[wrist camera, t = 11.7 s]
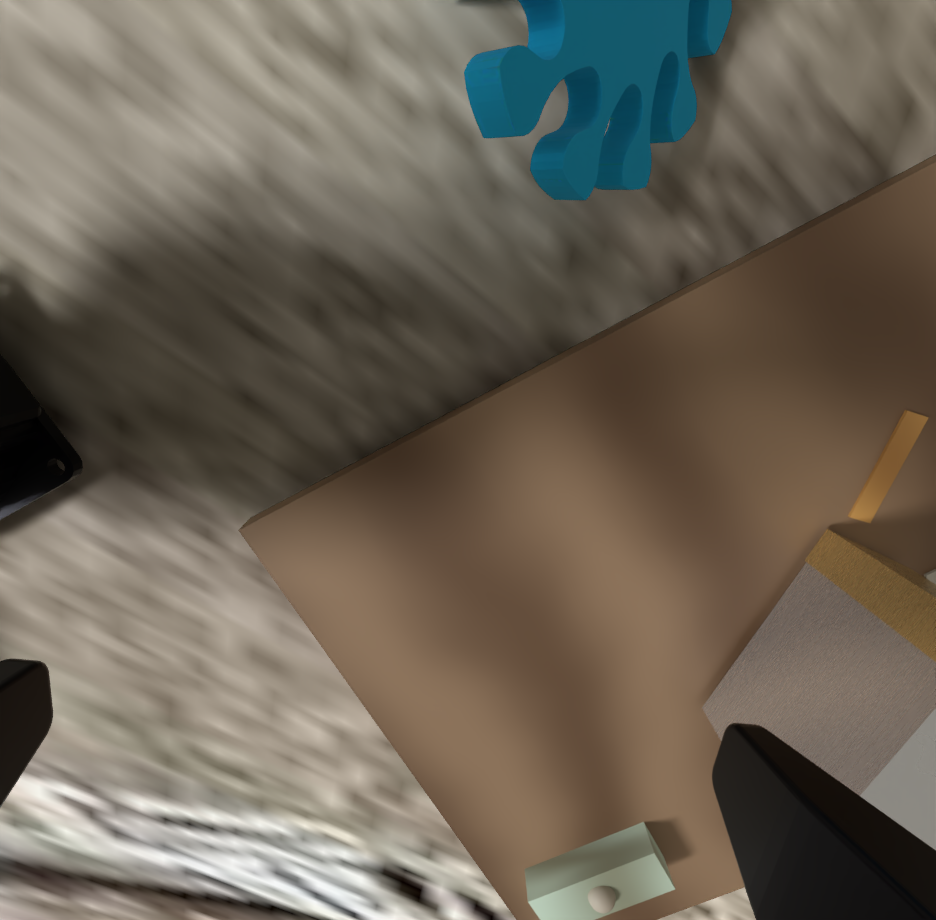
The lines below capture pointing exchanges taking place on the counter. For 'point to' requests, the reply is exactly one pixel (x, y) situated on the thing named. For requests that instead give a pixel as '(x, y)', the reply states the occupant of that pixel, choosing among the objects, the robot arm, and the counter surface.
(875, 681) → the white box tan top
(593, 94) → the gear
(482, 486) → the base
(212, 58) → the counter surface
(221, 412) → the counter surface
